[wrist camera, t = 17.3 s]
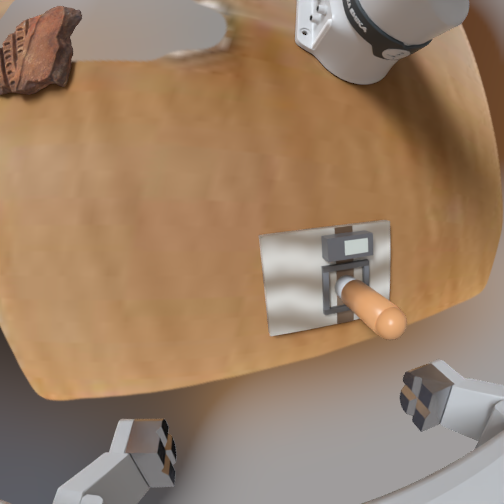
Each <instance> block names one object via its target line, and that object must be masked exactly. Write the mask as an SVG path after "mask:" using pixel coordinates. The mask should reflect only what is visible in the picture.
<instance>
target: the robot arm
mask: <svg viewBox="0 0 504 504" xmlns="http://www.w3.org/2000/svg"><path fill="white" fill-rule="evenodd" d="M468 11H469V0H297V11H296V30H295V42H296V43H297V45H298V46H300V47H301V48H303V49H304V50H306V51H308V52H310V53H312V54H313V55H314V56H315V57H316V58H317V59H318V60H319V61H320V62H321V63H322V65H323V66H324V67H325V68H327V69H328V70H329V71H330V72H331V73H333V74H334V75H336V76H337V77H339V78H341V79H343V80H345V81H348V82H351V83H355V84H372V83H375V82H378V81H380V80H381V79H383V78H384V77H385V76H386V74H387V73H388V71H389V70H390V69H391V67H392V66H393V65H394V64H395V63H396V62H397V61H398V60H399V59H402V58H404V57H407V56H409V55H411V54H413V53H415V52H416V51H418V50H420V49H422V48H423V47H425V46H427V45H428V44H429V43H430V42H431V41H432V39H433V38H435V37H437V36H439V35H441V34H443V33H444V32H446V31H448V30H450V29H452V28H454V27H456V26H458V25H460V24H461V23H462V22H463V21H464V19H465V18H466V16H467V14H468ZM302 33H305V34H306V35H303V34H302ZM403 382H404V383H405V386H404V387H403V389H402V390H401V393H400V403H401V406H402V408H403V410H404V411H405V413H406V414H409V415H412V416H413V419H412V421H413V423H414V424H415V425H416V426H417V427H418V428H419V430H420V431H421V432H422V431H424V430H427V429H429V428H432V427H434V426H436V425H438V424H440V425H442V426H444V427H446V428H448V429H451V430H453V431H455V432H458V433H460V434H462V435H465V436H467V437H470V438H472V439H474V440H477V441H478V444H477V445H476V447H475V449H474V450H473V451H471V452H470V453H468V454H467V455H465V456H463V457H462V458H460V459H458V460H457V461H455V462H453V463H451V464H450V465H448V466H446V467H444V468H442V469H440V470H439V471H436V472H435V473H433V474H431V475H429V476H427V477H425V478H423V479H420V480H418V481H416V482H414V483H412V484H410V485H408V486H405V487H403V488H401V489H398V490H396V491H394V492H391V493H389V494H387V495H384V496H381V497H379V498H376V499H373V500H371V501H368V502H365V503H362V504H504V385H500V384H495V383H490V382H484V381H480V380H475V379H471V378H467V379H465V378H464V377H462V376H461V375H460V374H459V373H458V372H456V371H455V370H454V369H453V368H452V367H450V366H449V365H448V364H447V363H446V362H444V361H443V360H441V359H438V360H435V361H433V362H430V363H428V364H426V365H423V366H420V367H418V368H415V369H412V370H410V371H407V372H406V373H405V375H404V377H403ZM168 429H169V426H168V424H167V422H166V420H165V419H121V420H120V421H119V422H118V425H117V428H116V431H115V435H114V438H113V441H112V445H111V448H110V451H109V453H104V454H103V455H101V456H100V457H99V458H97V459H96V460H95V461H94V462H92V463H91V464H90V465H88V466H87V467H86V468H84V469H83V470H82V471H80V472H79V473H78V474H76V475H75V476H74V477H73V478H71V479H70V480H68V481H67V482H66V483H64V484H63V485H62V486H60V487H59V488H58V490H57V493H56V496H55V499H54V501H53V504H137V503H138V502H139V501H140V499H141V498H142V497H143V496H144V494H145V493H146V492H147V491H148V490H149V487H174V485H175V470H174V467H173V464H174V463H175V462H176V456H177V455H176V446H175V442H174V440H173V437H172V436H171V435H170V434H168ZM0 504H11V503H8V502H5V501H3V500H0Z"/></svg>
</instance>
